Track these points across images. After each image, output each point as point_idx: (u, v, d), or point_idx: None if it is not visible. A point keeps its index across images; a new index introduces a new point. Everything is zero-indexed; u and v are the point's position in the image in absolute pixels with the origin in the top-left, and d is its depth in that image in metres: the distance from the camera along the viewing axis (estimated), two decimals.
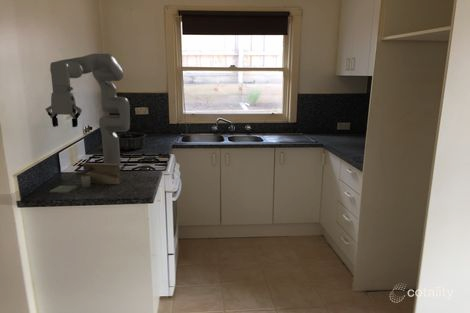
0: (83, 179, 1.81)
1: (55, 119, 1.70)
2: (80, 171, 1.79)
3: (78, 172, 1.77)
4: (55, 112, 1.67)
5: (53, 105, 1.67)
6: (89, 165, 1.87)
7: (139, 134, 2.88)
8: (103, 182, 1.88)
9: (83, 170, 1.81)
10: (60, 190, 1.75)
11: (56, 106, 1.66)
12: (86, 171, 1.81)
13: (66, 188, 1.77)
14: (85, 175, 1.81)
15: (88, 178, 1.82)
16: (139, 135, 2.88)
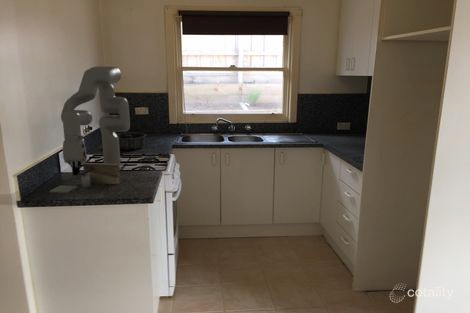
0: (83, 179, 1.81)
1: None
2: (81, 171, 1.79)
3: (79, 172, 1.77)
4: (66, 159, 1.75)
5: (65, 152, 1.74)
6: (89, 165, 1.87)
7: (139, 134, 2.88)
8: (103, 182, 1.88)
9: (84, 170, 1.81)
10: (60, 190, 1.75)
11: (67, 153, 1.74)
12: (87, 171, 1.81)
13: (66, 188, 1.77)
14: (85, 175, 1.81)
15: (88, 178, 1.82)
16: (139, 135, 2.88)
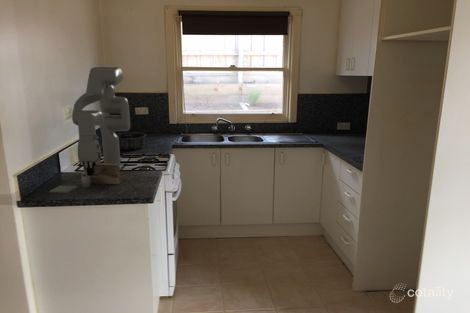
0: (83, 179, 1.81)
1: None
2: (95, 172, 1.78)
3: (93, 173, 1.76)
4: (81, 159, 1.74)
5: (79, 153, 1.74)
6: None
7: (139, 134, 2.88)
8: (103, 182, 1.88)
9: (98, 171, 1.80)
10: (60, 190, 1.75)
11: (82, 154, 1.73)
12: (101, 172, 1.80)
13: (66, 188, 1.77)
14: (85, 175, 1.81)
15: (88, 178, 1.82)
16: (139, 135, 2.88)
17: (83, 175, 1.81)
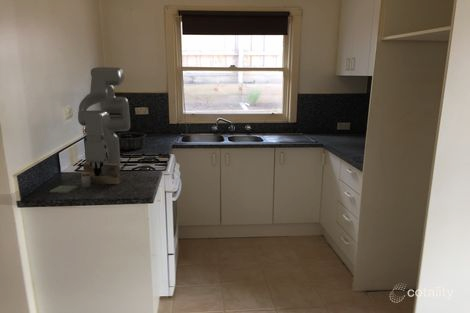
0: (83, 179, 1.81)
1: None
2: (103, 172, 1.78)
3: (101, 173, 1.76)
4: (89, 160, 1.74)
5: (87, 153, 1.73)
6: (89, 165, 1.87)
7: (139, 134, 2.88)
8: (103, 182, 1.88)
9: (105, 171, 1.79)
10: (60, 190, 1.75)
11: (90, 154, 1.73)
12: (108, 172, 1.80)
13: (66, 188, 1.77)
14: (85, 175, 1.81)
15: (88, 178, 1.82)
16: (139, 135, 2.88)
17: (83, 175, 1.81)
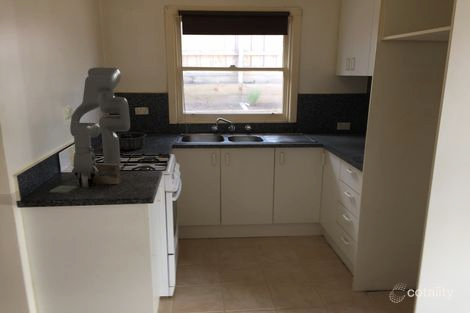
0: (83, 179, 1.81)
1: None
2: (103, 172, 1.78)
3: (101, 173, 1.76)
4: (77, 171, 1.80)
5: (75, 164, 1.79)
6: None
7: (139, 134, 2.88)
8: (103, 182, 1.88)
9: (106, 171, 1.79)
10: (60, 190, 1.75)
11: (78, 165, 1.79)
12: (109, 172, 1.80)
13: (66, 188, 1.77)
14: (85, 175, 1.81)
15: (88, 178, 1.82)
16: (139, 135, 2.88)
17: (83, 175, 1.81)
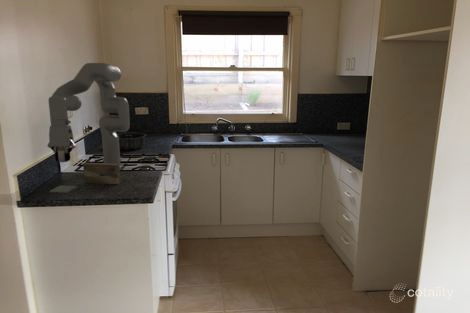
0: (59, 153, 1.72)
1: None
2: (103, 172, 1.78)
3: (101, 173, 1.76)
4: (53, 144, 1.72)
5: (51, 138, 1.71)
6: (89, 165, 1.87)
7: (139, 134, 2.88)
8: (103, 182, 1.88)
9: (106, 171, 1.79)
10: (60, 190, 1.75)
11: (54, 139, 1.71)
12: (109, 172, 1.80)
13: (66, 188, 1.77)
14: (61, 149, 1.72)
15: (65, 152, 1.73)
16: (139, 135, 2.88)
17: (59, 149, 1.72)
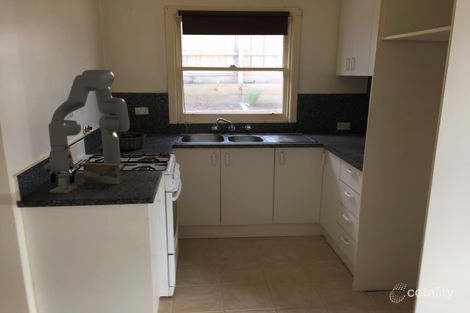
0: (60, 181, 1.75)
1: (53, 175, 1.77)
2: (103, 172, 1.78)
3: (101, 173, 1.76)
4: (53, 170, 1.74)
5: (51, 163, 1.73)
6: (89, 165, 1.87)
7: (139, 134, 2.88)
8: (103, 182, 1.88)
9: (106, 171, 1.79)
10: (60, 190, 1.75)
11: (54, 164, 1.73)
12: (109, 172, 1.80)
13: None
14: (62, 177, 1.75)
15: (65, 180, 1.76)
16: (139, 135, 2.88)
17: (60, 177, 1.75)
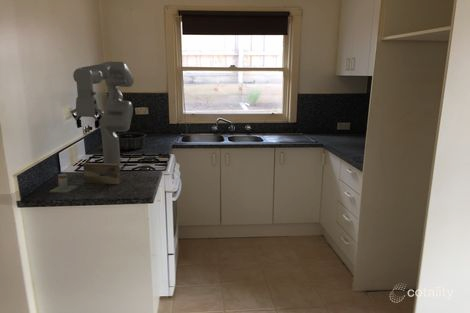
0: (60, 181, 1.75)
1: (79, 121, 1.87)
2: (103, 172, 1.78)
3: (101, 173, 1.76)
4: (79, 114, 1.84)
5: (78, 108, 1.83)
6: (89, 165, 1.87)
7: (139, 134, 2.88)
8: (103, 182, 1.88)
9: (106, 171, 1.79)
10: (60, 190, 1.75)
11: (80, 109, 1.83)
12: (109, 172, 1.80)
13: None
14: (62, 177, 1.75)
15: (65, 180, 1.76)
16: (139, 135, 2.88)
17: (60, 177, 1.75)
